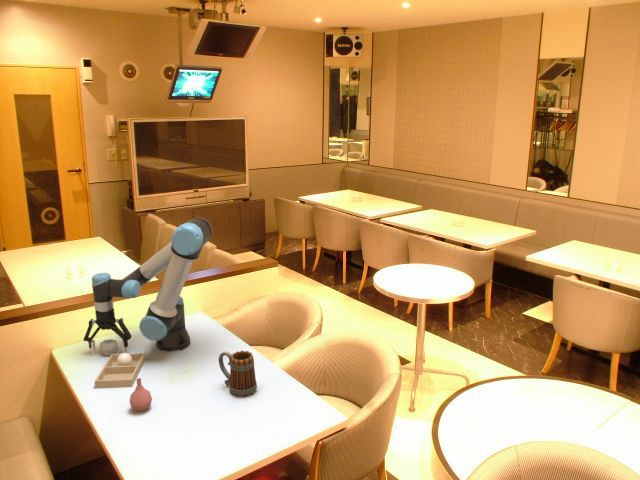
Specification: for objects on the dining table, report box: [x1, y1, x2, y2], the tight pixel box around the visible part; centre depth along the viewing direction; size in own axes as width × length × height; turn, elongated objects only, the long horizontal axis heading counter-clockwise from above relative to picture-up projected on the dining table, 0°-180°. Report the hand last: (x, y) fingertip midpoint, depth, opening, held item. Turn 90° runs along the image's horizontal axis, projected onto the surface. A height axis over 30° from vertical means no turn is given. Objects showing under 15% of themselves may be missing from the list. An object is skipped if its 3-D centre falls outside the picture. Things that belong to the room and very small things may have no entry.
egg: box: [117, 352, 132, 366], centre depth 227 cm, size 6×6×6 cm
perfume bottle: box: [129, 377, 153, 412], centre depth 198 cm, size 8×8×12 cm
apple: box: [99, 338, 119, 357], centre depth 239 cm, size 8×8×7 cm
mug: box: [218, 350, 258, 398], centre depth 210 cm, size 16×11×15 cm
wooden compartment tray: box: [94, 352, 147, 389], centre depth 223 cm, size 14×22×4 cm, turn 4°
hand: (109, 354), depth 240 cm, fingers open, 12 cm apart
